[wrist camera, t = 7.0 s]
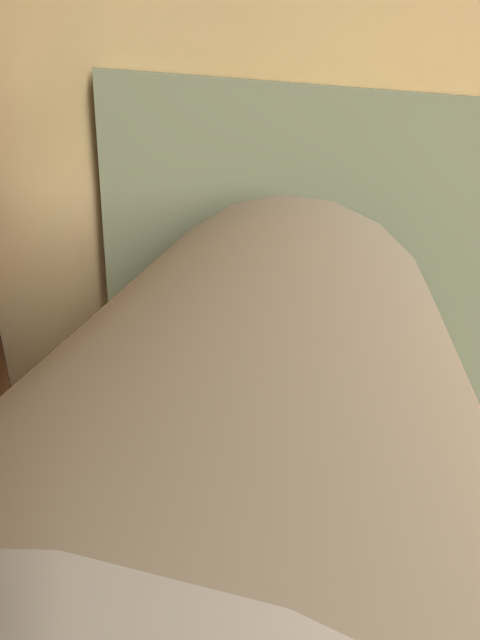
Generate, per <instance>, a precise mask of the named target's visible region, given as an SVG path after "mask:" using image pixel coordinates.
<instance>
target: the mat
mask: <svg viewBox="0 0 480 640" xmlns="http://www.w3.org/2000/svg"><path fill="white" fill-rule="evenodd" d="M92 77H93V91H94V106H95V121H96V135H97V150H98V165H99V179H100V194H101V208H102V223H103V238H104V252H105V267H106V281H107V296H108V302H109V301H110V300H111V299H112V298H113V297H114V296H115V295H117V294H118V293H119V292H120V291H121V290H122V289H123V288H125V287H126V286H127V285H128V284H129V283H130V282H131V281H133V280H134V279H135V278H136V277H137V276H138V275H139V274H140V273H142V272H143V271H144V270H145V269H146V268H147V267H148V266H150V265H151V264H152V263H153V262H154V261H155V260H156V259H158V258H159V257H160V256H161V255H162V254H163V253H164V252H166V251H167V250H168V249H169V248H170V247H171V246H172V245H174V244H175V243H176V242H177V241H178V240H179V239H180V238H181V237H183V236H184V235H185V234H186V233H187V232H188V231H189V230H191V229H192V228H193V227H194V226H196V225H198V224H199V223H201V222H203V221H205V220H206V219H208V218H210V217H212V216H213V215H215V214H217V213H218V212H220V211H222V210H224V209H225V208H227V207H229V206H230V205H232V204H236V203H241V202H246V201H251V200H256V199H261V198H266V197H271V196H276V195H289V196H297V197H305V198H313V199H320V200H328V201H333V202H335V203H338V204H340V205H342V206H344V207H346V208H348V209H350V210H352V211H354V212H356V213H358V214H361V215H363V216H365V217H367V218H369V219H371V220H373V221H375V222H377V223H379V224H380V225H381V226H382V227H383V228H384V229H385V230H386V231H387V232H388V233H389V234H390V235H391V236H392V237H393V238H394V239H395V240H396V241H397V242H398V243H399V244H400V245H401V246H402V247H403V248H404V249H405V250H406V251H407V252H408V253H409V254H410V255H411V256H413V257H414V259H415V261H416V263H417V265H418V267H419V269H420V272H421V274H422V276H423V278H424V280H425V282H426V284H427V287H428V289H429V291H430V293H431V295H432V297H433V299H434V302H435V304H436V306H437V309H438V311H439V313H440V315H441V318H442V320H443V322H444V324H445V327H446V329H447V331H448V334H449V336H450V338H451V340H452V343H453V345H454V347H455V349H456V352H457V354H458V356H459V359H460V361H461V363H462V365H463V368H464V370H465V372H466V374H467V377H468V379H469V381H470V384H471V386H472V388H473V390H474V393H475V395H476V397H477V399H478V402H479V404H480V97H478V96H465V95H452V94H438V93H425V92H412V91H399V90H386V89H372V88H359V87H346V86H333V85H320V84H306V83H293V82H280V81H267V80H253V79H240V78H227V77H214V76H201V75H187V74H174V73H161V72H148V71H135V70H121V69H108V68H95V67H92Z"/></svg>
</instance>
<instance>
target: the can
mask: <svg viewBox="0 0 480 640" xmlns="http://www.w3.org/2000/svg"><path fill="white" fill-rule="evenodd" d="M0 640H480V404H479V402H478V399H477V397H476V395H475V393H474V390H473V388H472V386H471V384H470V381H469V379H468V377H467V374H466V372H465V370H464V368H463V365H462V363H461V361H460V359H459V356H458V354H457V352H456V349H455V347H454V345H453V343H452V340H451V338H450V336H449V334H448V331H447V329H446V327H445V324H444V322H443V320H442V318H441V315H440V313H439V311H438V309H437V306H436V304H435V302H434V299H433V297H432V295H431V293H430V291H429V289H428V287H427V284H426V282H425V280H424V278H423V276H422V274H421V272H420V269H419V267H418V265H417V263H416V261H415V259H414V257H413V256H411V255H410V254H409V253H408V252H407V251H406V250H405V249H404V248H403V247H402V246H401V245H400V244H399V243H398V242H397V241H396V240H395V239H394V238H393V237H392V236H391V235H390V234H389V233H388V232H387V231H386V230H385V229H384V228H383V227H382V226H381V225H380V224H379V223H377V222H375V221H373V220H371V219H369V218H367V217H365V216H363V215H361V214H358V213H356V212H354V211H352V210H350V209H348V208H346V207H344V206H342V205H340V204H338V203H335V202H333V201H328V200H320V199H313V198H305V197H297V196H289V195H276V196H271V197H266V198H261V199H256V200H251V201H246V202H241V203H236V204H232V205H230V206H229V207H227V208H225V209H224V210H222V211H220V212H218V213H217V214H215V215H213V216H212V217H210V218H208V219H206V220H205V221H203V222H201V223H199V224H198V225H196V226H194V227H193V228H192V229H191V230H189V231H188V232H187V233H186V234H185V235H184V236H183V237H181V238H180V239H179V240H178V241H177V242H176V243H175V244H174V245H172V246H171V247H170V248H169V249H168V250H167V251H166V252H164V253H163V254H162V255H161V256H160V257H159V258H158V259H156V260H155V261H154V262H153V263H152V264H151V265H150V266H148V267H147V268H146V269H145V270H144V271H143V272H142V273H140V274H139V275H138V276H137V277H136V278H135V279H134V280H133V281H131V282H130V283H129V284H128V285H127V286H126V287H125V288H123V289H122V290H121V291H120V292H119V293H118V294H117V295H115V296H114V297H113V298H112V299H111V300H110V301H109V302H107V303H106V304H105V305H104V306H103V307H102V308H101V309H100V310H98V311H97V312H96V313H95V314H94V315H93V316H92V317H90V318H89V319H88V320H87V321H86V322H85V323H84V324H82V325H81V326H80V327H79V328H78V329H77V330H76V331H74V332H73V333H72V334H71V335H70V336H69V337H68V338H66V339H65V340H64V341H63V342H62V343H61V344H60V345H59V346H57V347H56V348H55V349H54V350H53V351H52V352H51V353H49V354H48V355H47V356H46V357H45V358H44V359H43V360H41V361H40V362H39V363H38V364H37V365H36V366H35V367H33V368H32V369H31V370H30V371H29V372H28V373H27V374H25V375H24V376H23V377H22V378H21V379H20V380H19V381H18V382H16V383H15V384H14V385H13V386H12V387H11V388H10V389H8V390H7V391H6V392H5V393H4V394H3V395H2V396H0Z"/></svg>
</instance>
